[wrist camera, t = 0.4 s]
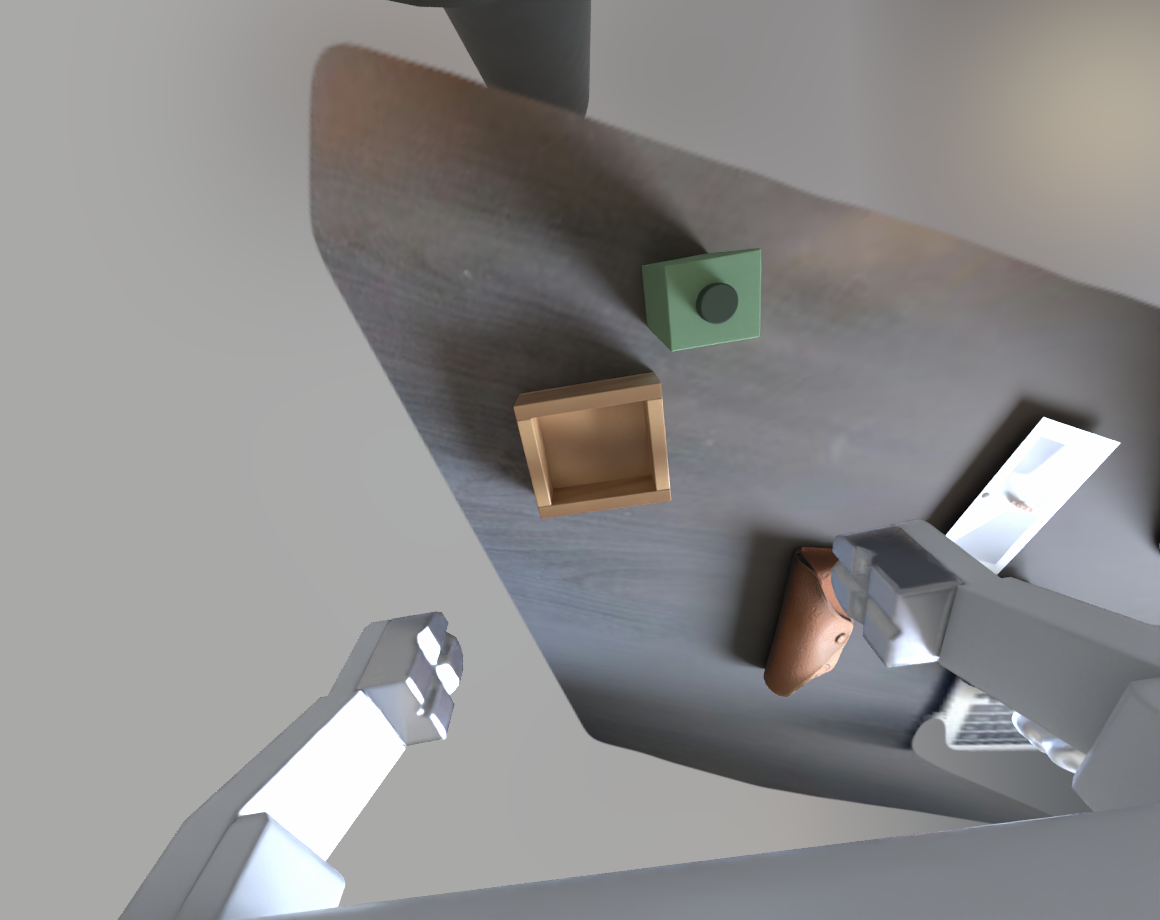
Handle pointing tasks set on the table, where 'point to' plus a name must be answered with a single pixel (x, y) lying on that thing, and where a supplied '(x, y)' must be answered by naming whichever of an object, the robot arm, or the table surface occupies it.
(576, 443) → the wooden tray
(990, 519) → the white shallow tray
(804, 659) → the sunglasses case
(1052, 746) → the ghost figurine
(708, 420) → the table surface
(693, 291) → the green carton with cap
